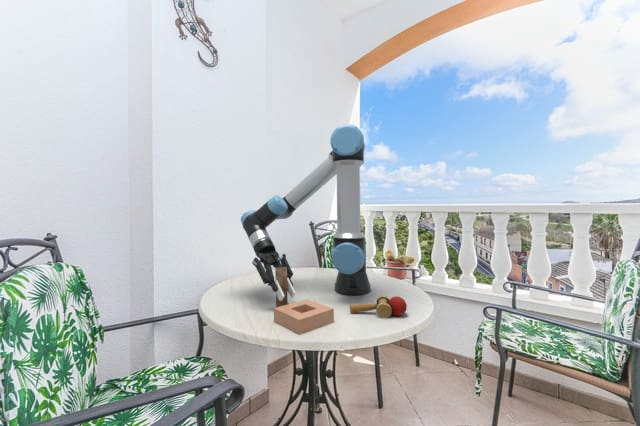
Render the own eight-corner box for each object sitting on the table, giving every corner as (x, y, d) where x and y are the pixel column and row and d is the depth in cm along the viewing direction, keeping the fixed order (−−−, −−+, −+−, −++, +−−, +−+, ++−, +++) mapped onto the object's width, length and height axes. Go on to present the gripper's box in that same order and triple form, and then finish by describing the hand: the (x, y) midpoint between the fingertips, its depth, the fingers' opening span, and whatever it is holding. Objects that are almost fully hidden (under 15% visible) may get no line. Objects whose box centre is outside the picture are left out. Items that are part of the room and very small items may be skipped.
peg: (283, 305, 104) (282, 266, 104) (290, 308, 101) (289, 267, 101) (274, 307, 101) (273, 268, 101) (280, 310, 98) (279, 269, 98)
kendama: (350, 322, 91) (409, 317, 88) (347, 301, 92) (405, 295, 89) (352, 317, 98) (407, 312, 95) (350, 298, 100) (403, 293, 96)
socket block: (307, 311, 98) (306, 299, 98) (333, 321, 88) (333, 308, 88) (274, 321, 89) (273, 308, 89) (299, 334, 79) (299, 319, 79)
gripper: (277, 248, 118) (303, 297, 106) (238, 253, 107) (262, 308, 95) (284, 236, 114) (312, 286, 102) (244, 239, 103) (270, 296, 91)
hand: (287, 296), depth 98 cm, fingers closed on peg, 4 cm apart
